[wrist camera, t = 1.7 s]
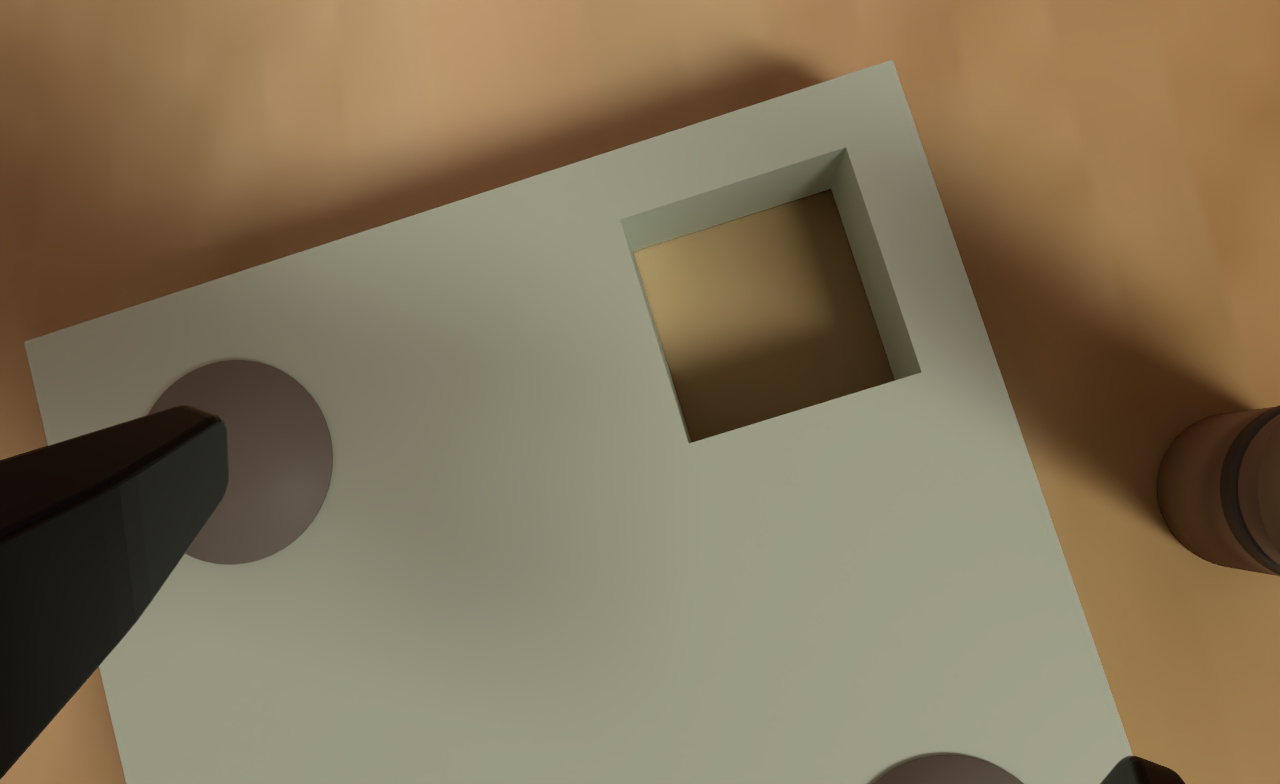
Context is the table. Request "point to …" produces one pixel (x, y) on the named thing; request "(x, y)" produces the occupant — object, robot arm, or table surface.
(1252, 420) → the stool leg
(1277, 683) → the table surface
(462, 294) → the seat board
